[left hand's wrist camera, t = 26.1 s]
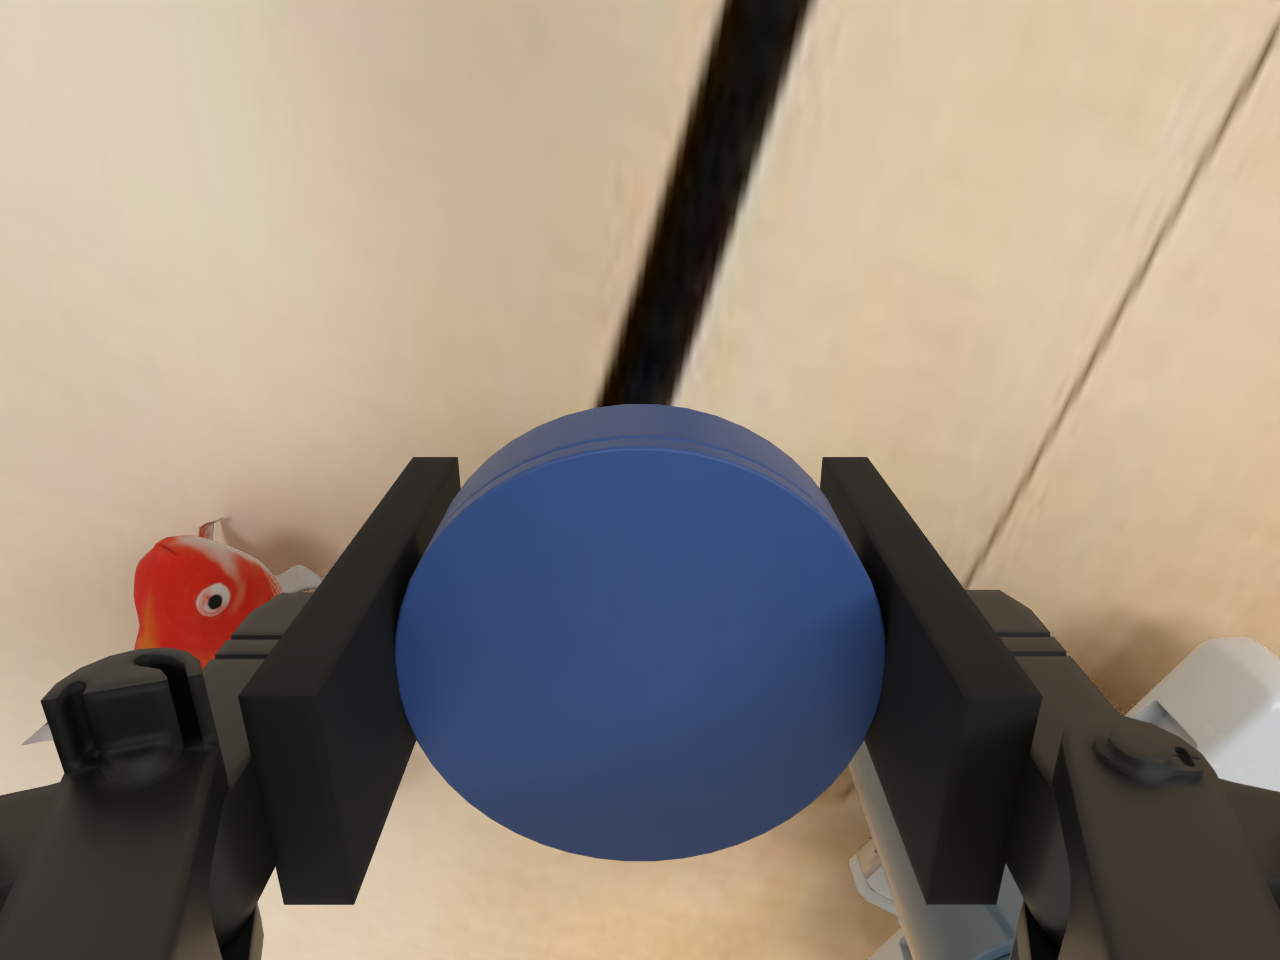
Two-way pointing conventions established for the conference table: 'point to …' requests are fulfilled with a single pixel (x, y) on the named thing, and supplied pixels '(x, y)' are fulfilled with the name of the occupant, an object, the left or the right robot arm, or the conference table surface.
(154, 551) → the fish
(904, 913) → the jar
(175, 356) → the conference table surface
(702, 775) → the lid
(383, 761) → the left robot arm
